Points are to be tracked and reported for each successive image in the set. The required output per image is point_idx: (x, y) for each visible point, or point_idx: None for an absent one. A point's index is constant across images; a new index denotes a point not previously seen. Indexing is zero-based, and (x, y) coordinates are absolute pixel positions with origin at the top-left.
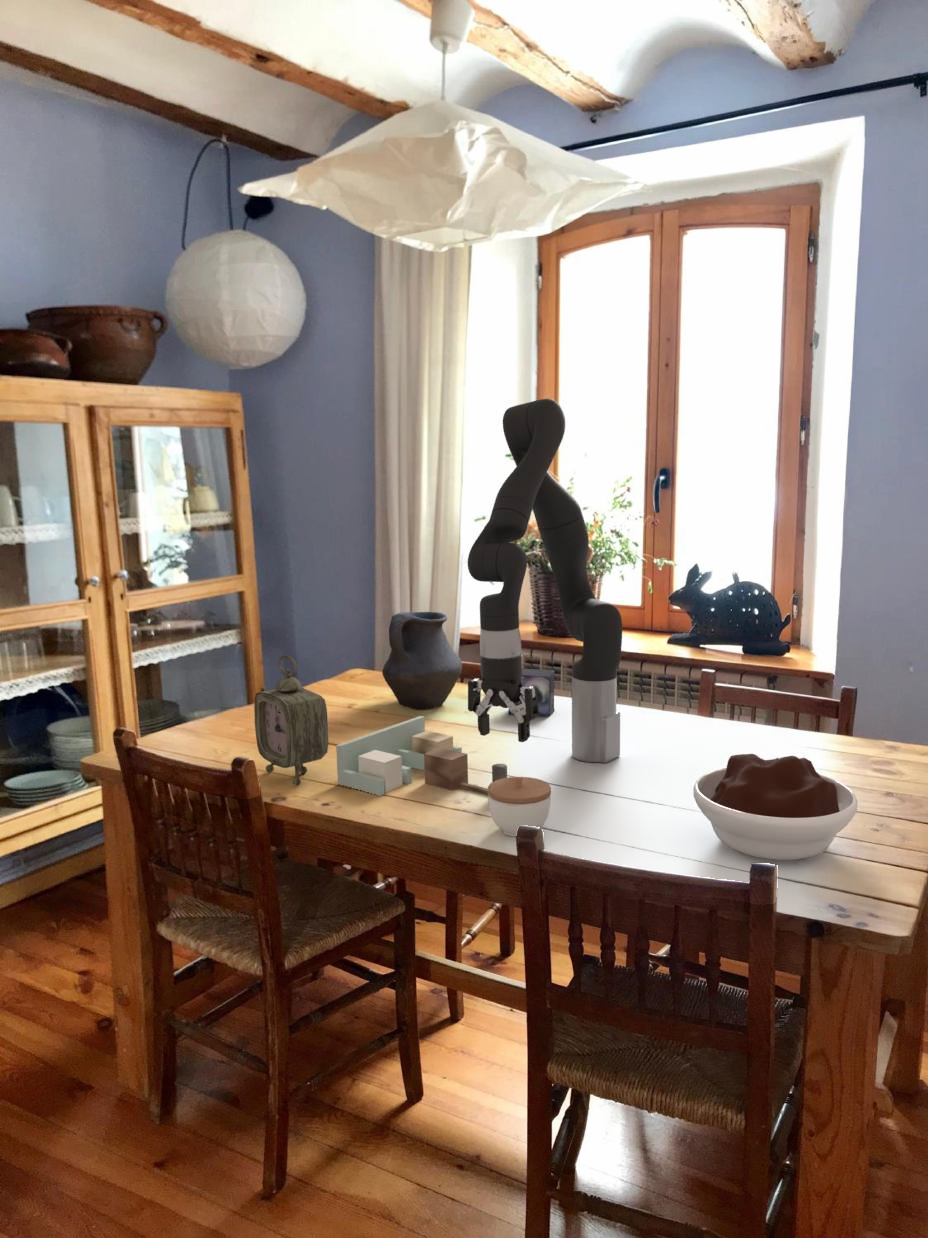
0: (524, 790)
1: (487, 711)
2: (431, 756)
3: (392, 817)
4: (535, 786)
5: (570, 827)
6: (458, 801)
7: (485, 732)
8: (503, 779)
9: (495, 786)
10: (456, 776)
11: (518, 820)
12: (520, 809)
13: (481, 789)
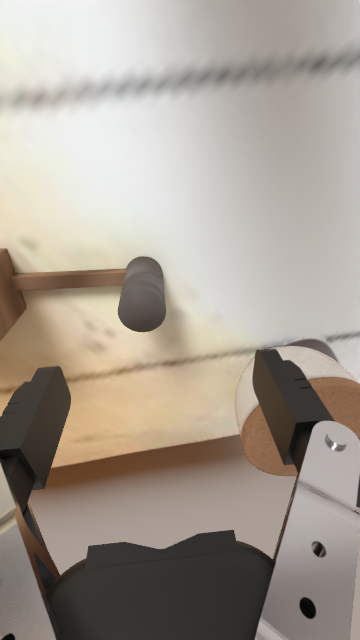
0: None
1: (6, 473)
2: None
3: (71, 441)
4: (348, 424)
5: (353, 313)
6: (93, 343)
7: (64, 396)
8: (261, 433)
9: (267, 461)
10: (8, 309)
11: None
12: None
13: (91, 286)
